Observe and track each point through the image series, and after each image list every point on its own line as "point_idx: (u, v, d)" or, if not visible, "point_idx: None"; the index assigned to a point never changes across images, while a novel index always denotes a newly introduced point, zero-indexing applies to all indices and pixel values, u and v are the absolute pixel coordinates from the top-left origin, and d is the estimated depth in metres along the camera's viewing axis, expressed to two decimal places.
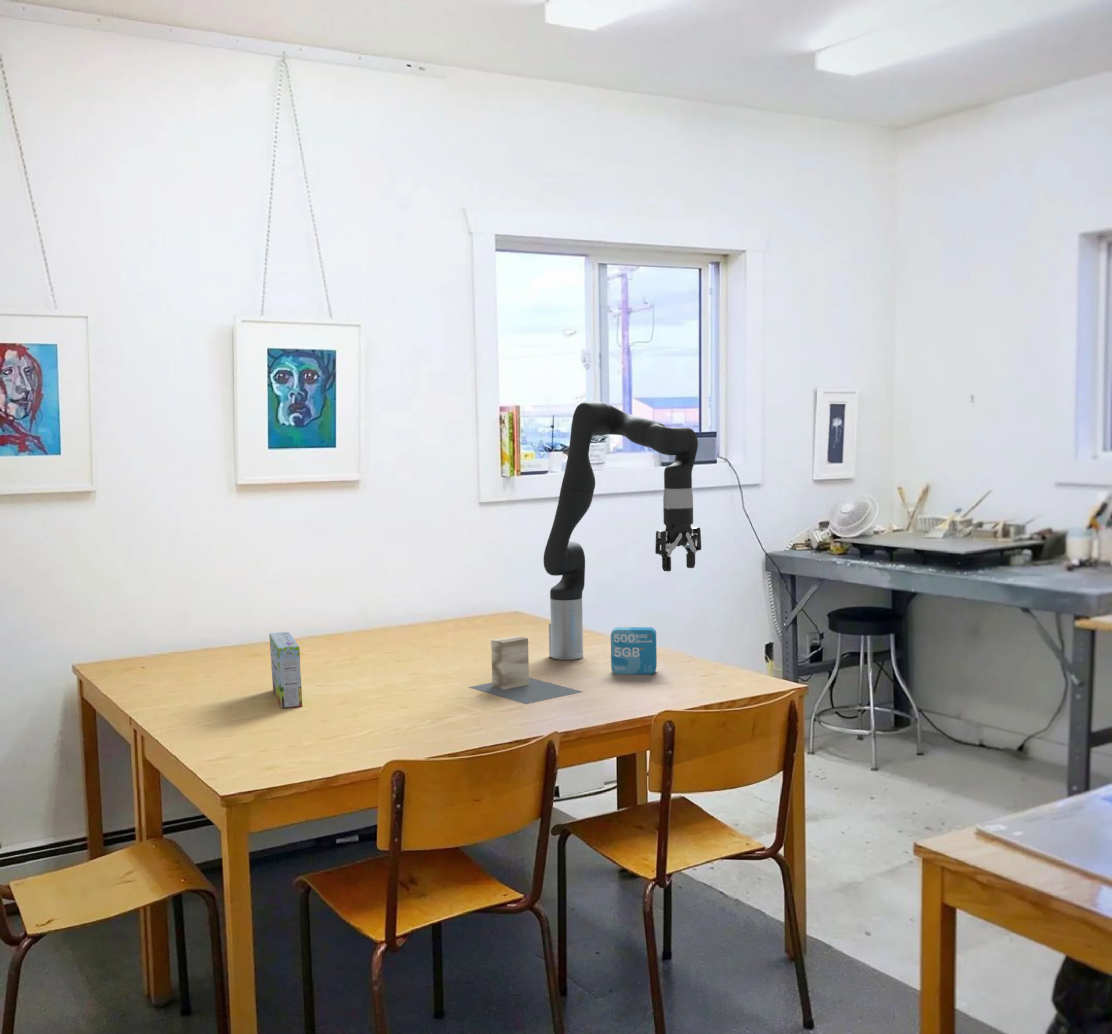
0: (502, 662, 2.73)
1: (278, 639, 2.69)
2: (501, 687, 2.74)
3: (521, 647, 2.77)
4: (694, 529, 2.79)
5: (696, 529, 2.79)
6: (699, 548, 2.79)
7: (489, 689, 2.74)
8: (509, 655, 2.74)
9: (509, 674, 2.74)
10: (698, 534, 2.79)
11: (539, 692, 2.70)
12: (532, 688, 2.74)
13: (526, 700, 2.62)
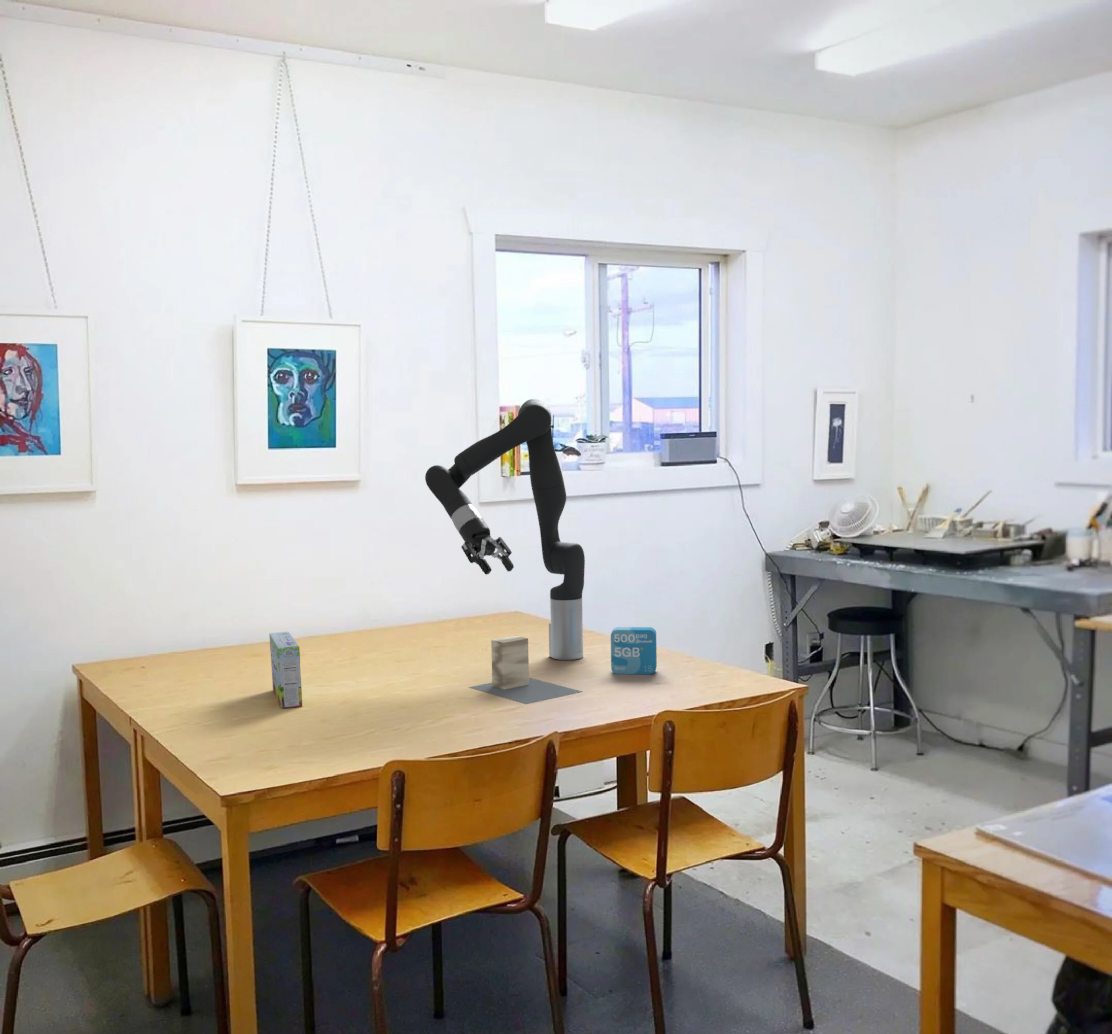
0: (502, 662, 2.73)
1: (278, 639, 2.69)
2: (501, 687, 2.74)
3: (521, 647, 2.77)
4: None
5: None
6: None
7: (489, 689, 2.74)
8: (509, 655, 2.74)
9: (509, 674, 2.74)
10: None
11: (539, 692, 2.70)
12: (532, 688, 2.74)
13: (526, 700, 2.62)
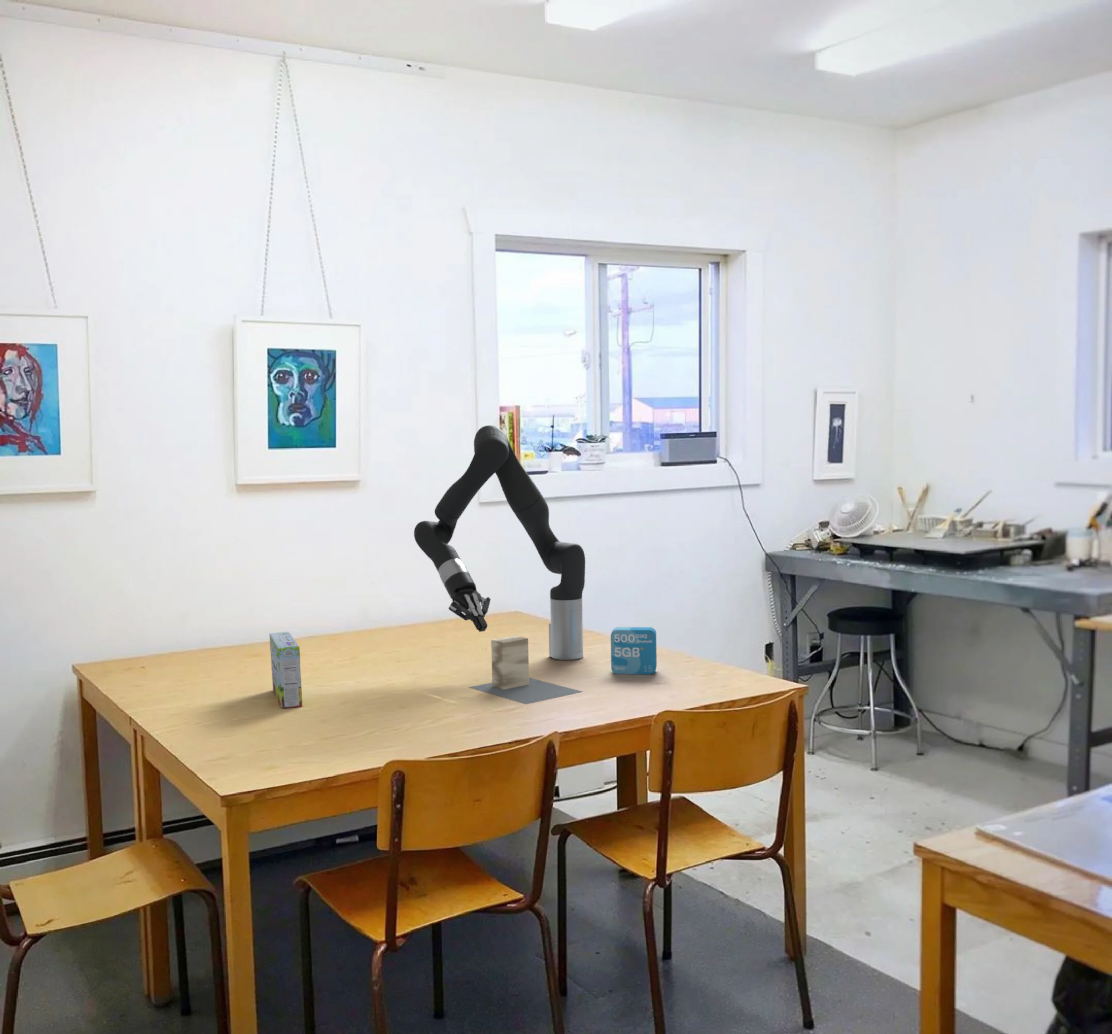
0: (502, 662, 2.73)
1: (278, 639, 2.69)
2: (501, 687, 2.74)
3: (521, 647, 2.77)
4: None
5: None
6: None
7: (489, 689, 2.74)
8: (509, 655, 2.74)
9: (509, 674, 2.74)
10: None
11: (539, 692, 2.70)
12: (532, 688, 2.74)
13: (526, 700, 2.62)
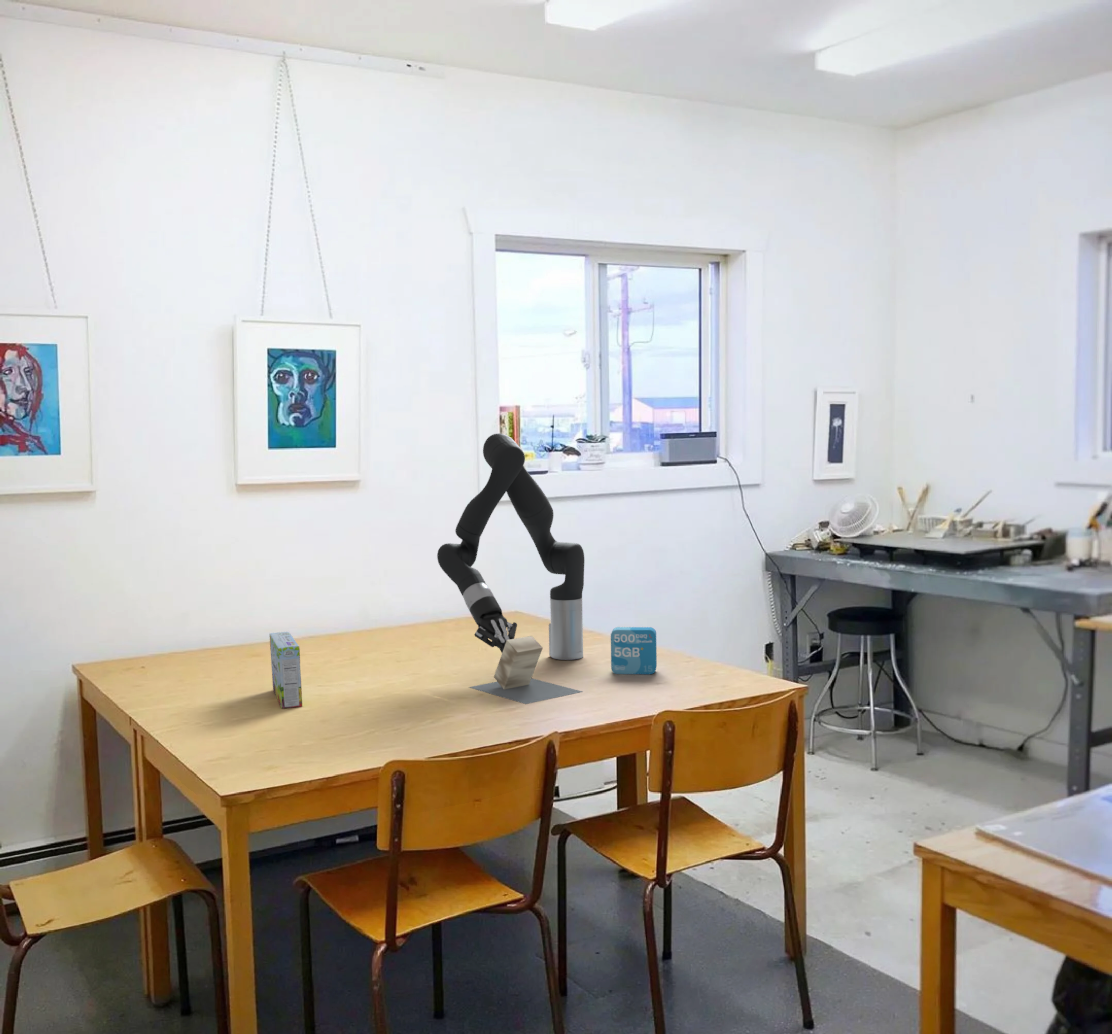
0: (510, 667, 2.71)
1: (278, 639, 2.69)
2: (502, 685, 2.74)
3: (533, 655, 2.73)
4: None
5: None
6: None
7: (489, 689, 2.74)
8: (519, 662, 2.71)
9: (513, 677, 2.73)
10: None
11: (539, 692, 2.70)
12: (532, 688, 2.74)
13: (526, 700, 2.62)
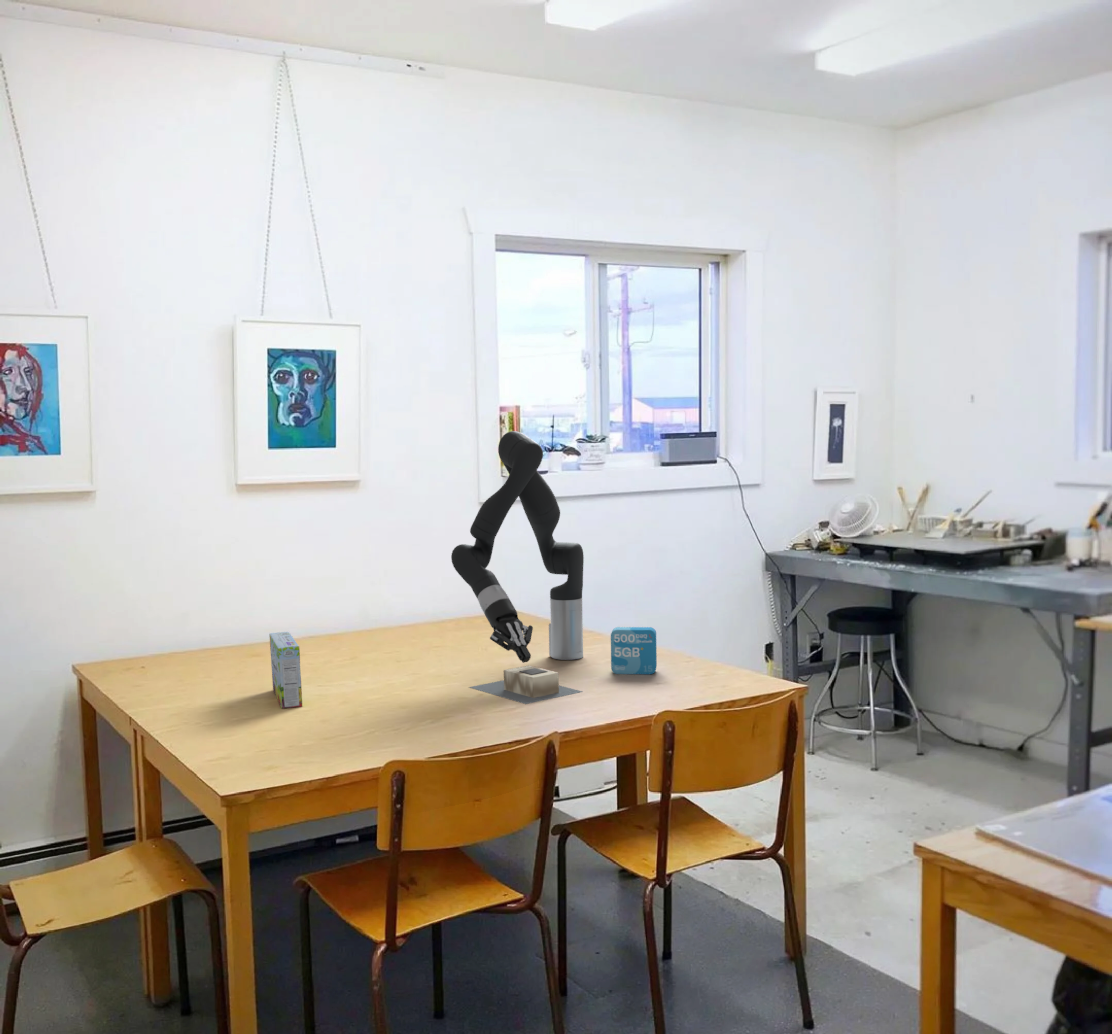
0: (520, 692, 2.68)
1: (278, 639, 2.69)
2: (504, 685, 2.73)
3: None
4: None
5: None
6: None
7: (489, 689, 2.74)
8: None
9: None
10: None
11: None
12: None
13: (526, 700, 2.62)
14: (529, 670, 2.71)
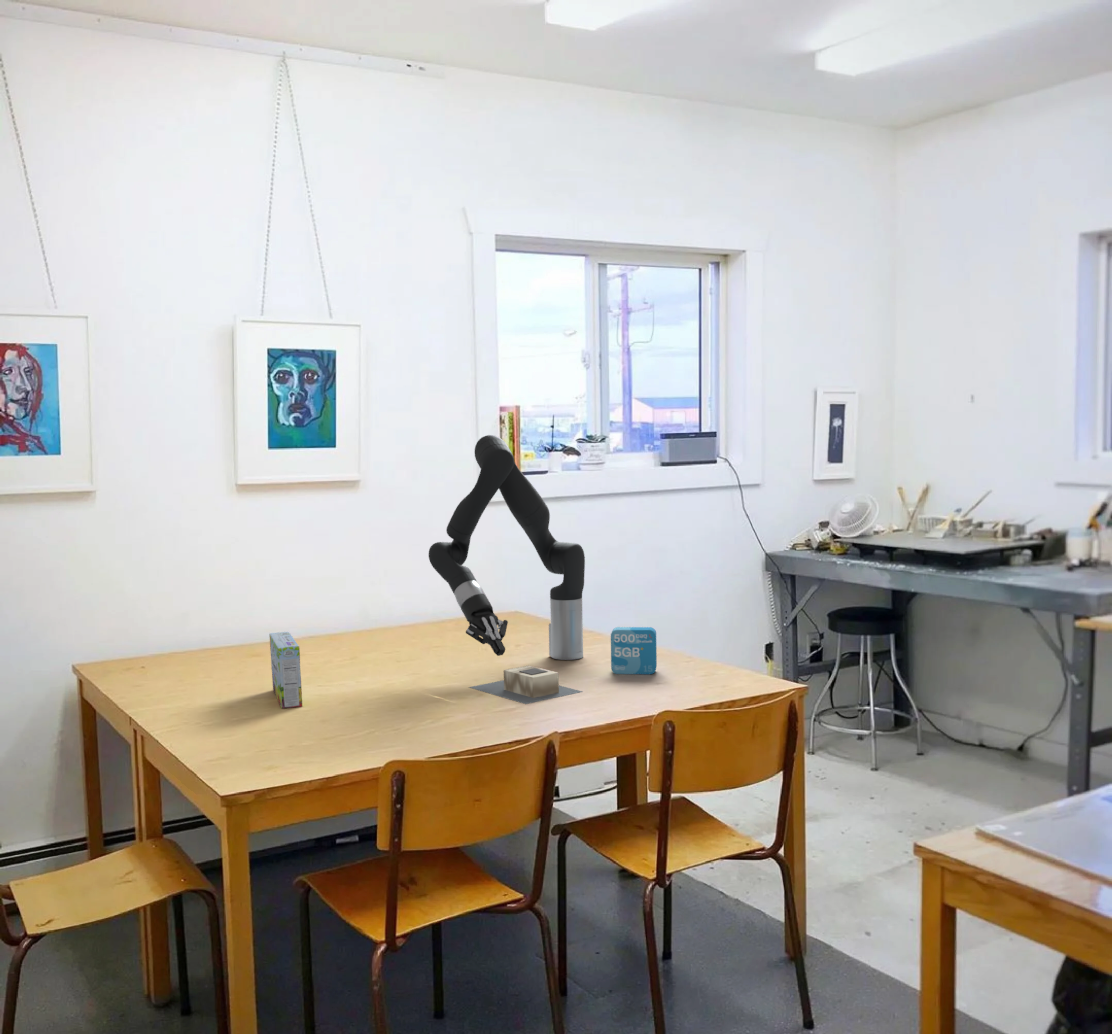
0: (520, 692, 2.68)
1: (278, 639, 2.69)
2: (504, 685, 2.73)
3: None
4: None
5: None
6: None
7: (489, 689, 2.74)
8: None
9: None
10: None
11: None
12: None
13: (526, 700, 2.62)
14: (529, 670, 2.71)
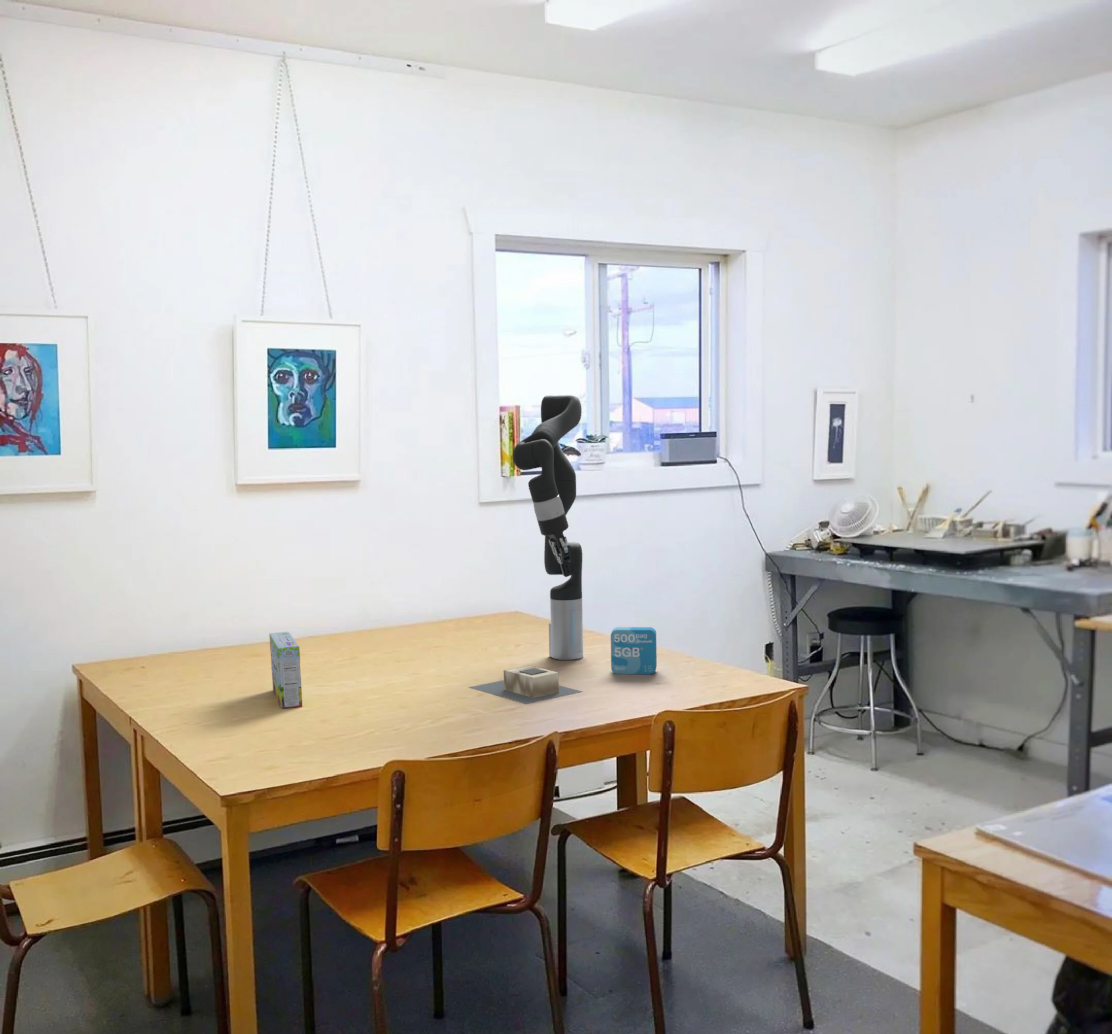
0: (520, 692, 2.68)
1: (278, 639, 2.69)
2: (504, 685, 2.73)
3: None
4: (562, 546, 2.81)
5: None
6: (561, 561, 2.84)
7: (489, 689, 2.74)
8: None
9: None
10: (560, 552, 2.82)
11: None
12: None
13: (526, 700, 2.62)
14: (529, 670, 2.71)
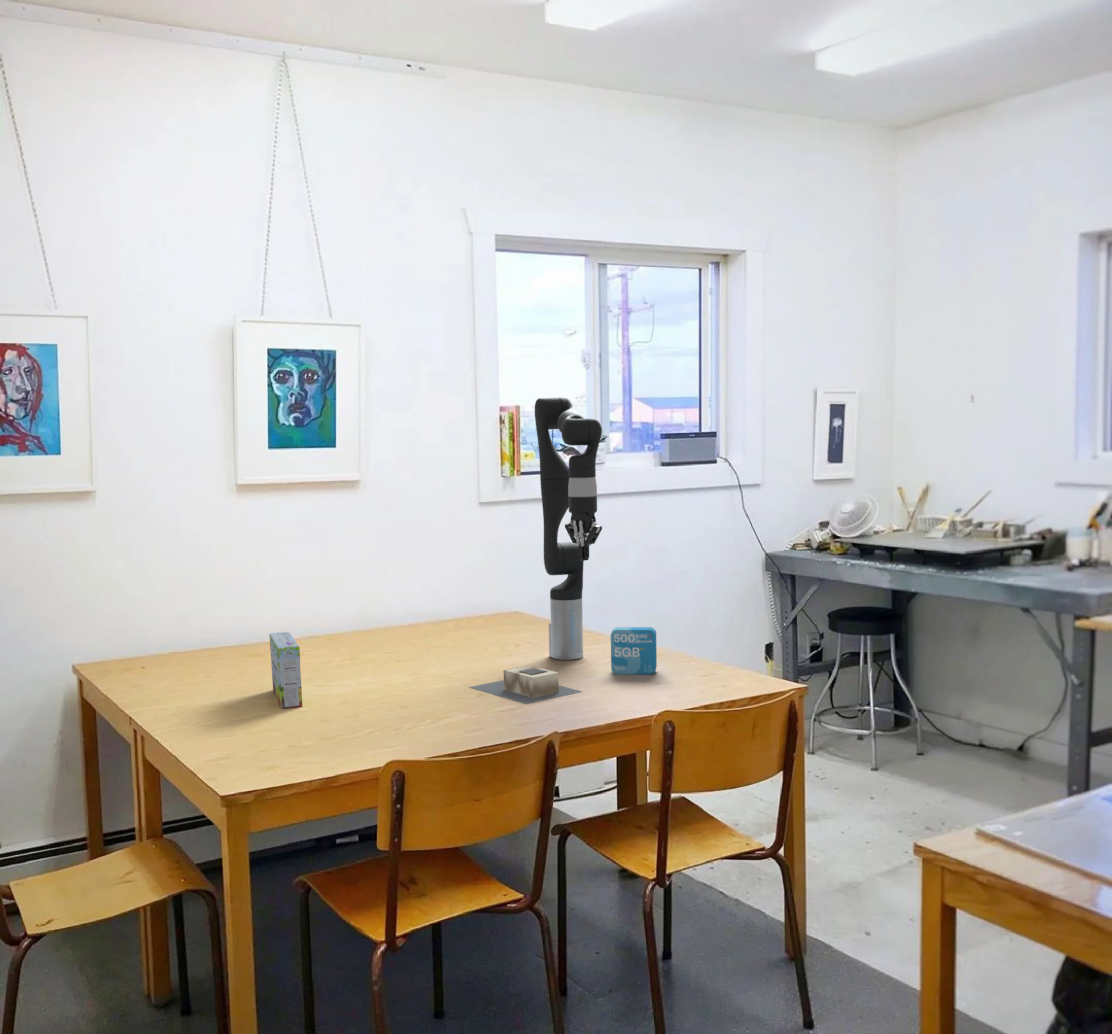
0: (520, 692, 2.68)
1: (278, 639, 2.69)
2: (504, 685, 2.73)
3: None
4: (594, 525, 2.82)
5: None
6: (586, 542, 2.83)
7: (489, 689, 2.74)
8: None
9: None
10: (591, 531, 2.82)
11: None
12: None
13: (526, 700, 2.62)
14: (529, 670, 2.71)
